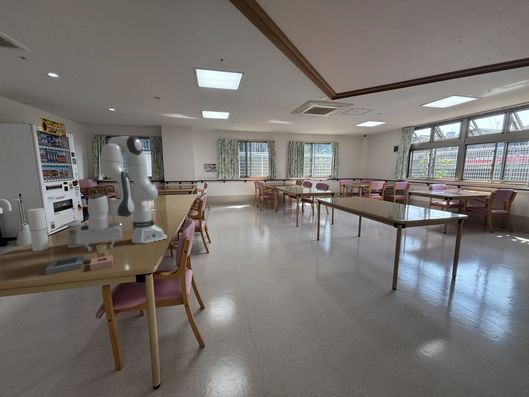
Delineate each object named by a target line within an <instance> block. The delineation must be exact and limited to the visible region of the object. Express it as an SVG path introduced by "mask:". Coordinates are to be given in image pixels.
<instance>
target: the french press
mask: <svg viewBox="0 0 529 397" xmlns="http://www.w3.org/2000/svg"><path fill="white" fill-rule="evenodd" d="M71 210H72V211H73V212H75V210H76V207H71ZM73 219H74V221H73V222H70V223H68V224H67V225H66V227H69V228H66V229H65V231H64V234H63V235H64V238H65V239H67V240H68V245H67V248H79V247H82V246H85V244H77V243H76V234H77V232H78V231H79V230H78V228H77V227H79V225H81V224H84V223H83V222H80V221H76V217H75V216H73ZM70 227H71V228H70ZM72 227H73V228H74V229H72ZM76 228H77V229H76ZM66 231H67V232H66ZM66 234H67V235H66Z"/></svg>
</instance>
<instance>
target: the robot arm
mask: <svg viewBox="0 0 529 397" xmlns="http://www.w3.org/2000/svg"><path fill="white" fill-rule="evenodd" d="M143 147H144V145H143V141H142V140H141V138H140V137H138V136H133V135H132V136H131V135H130V136H127V135H122V136H112V137H109V138H107V139H106V140H105V141H104V144H103V147H102V150H101V154H100V161H99V168H100V172H101V174H103V176H105V177H107V178H108V179H112V180H114V181H116V182H117V184H118V185H119V188H120V196H121V198H120V199H119V198H118V199H117V198H115V199H114V198H110V197H108V196H107V195H106V194H103V193H97V194H93V195H91V196H89V197H88V200H87V213H88V215H89V216H88V222H84V223H83V224H81V225H79V226H77V229H78V230H79V231H78V232H77V234H76V243H77V244H85V245H84V246H85V247H86V249H87V251H88V252H92V251H93V249H92V248H93V246H91V247H90V246H89V244H93V243H101V242H108V241H109V242H110V241H111V242H112V243H111V244H109V249H113V248H114V244H115V243H116V241H117V240H122V239H123V232H122V231H123V224H122V223H120V222H115V223H113V222H111V223H110V217H123V218H124V217H125V218H127V217H130V216H132V223H131V225H132V230H133V231H132V238H131V243H134V244H142V243H143V244H142V245H144V244H145V243H146V244H148V243H149V244H150V242H151V243H155V242H159V240H160V241H164V240H163V239H165V240H167V239H168V235H167V234H165V233H164V230H163V229H162V227H159V226H158V225H156V224H157V222H156V221H155V220H154V219H152V214H151V213H152V212H151V208H150V207H149V206H148V205H147V204H146V202H153V201H155V200H156V199H157V198H158V196H159V190H158V189H157V188H156V187H155V186H154V185H153V183H152V182H151V180H150V178H149V176H148V171H147V170H148V169H147V164H146V158H145V155H144V152H143V149H144V148H143ZM124 156H126V169H127V171H125V168H124ZM131 180H132V182H133V183H134V184H131ZM166 238H167V239H166ZM154 241H155V242H154ZM146 244H145V245H146Z"/></svg>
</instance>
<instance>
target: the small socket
mask: <svg viewBox="0 0 529 397" xmlns="http://www.w3.org/2000/svg"><path fill="white" fill-rule="evenodd" d="M110 267H111V268H112V267H114V256H113V254H111V255H109V256H104V257H99V258H97V257H93V258H91V259H90V264H89V269H90V271H95V270H101V269H106V268H110Z"/></svg>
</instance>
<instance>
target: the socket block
mask: <svg viewBox="0 0 529 397" xmlns="http://www.w3.org/2000/svg"><path fill="white" fill-rule="evenodd" d="M84 263H85V254H82V255H77V256H69V257H65V258H64V257H63V258H58V259H52V260H51V261H50V263H49V264H48V265H47V267H46V268H45V270H44V271H45V275H52V274H56V273H62V272H67V271H73V270H74V271H75V270H80V269H82V268H83V266H84Z"/></svg>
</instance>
